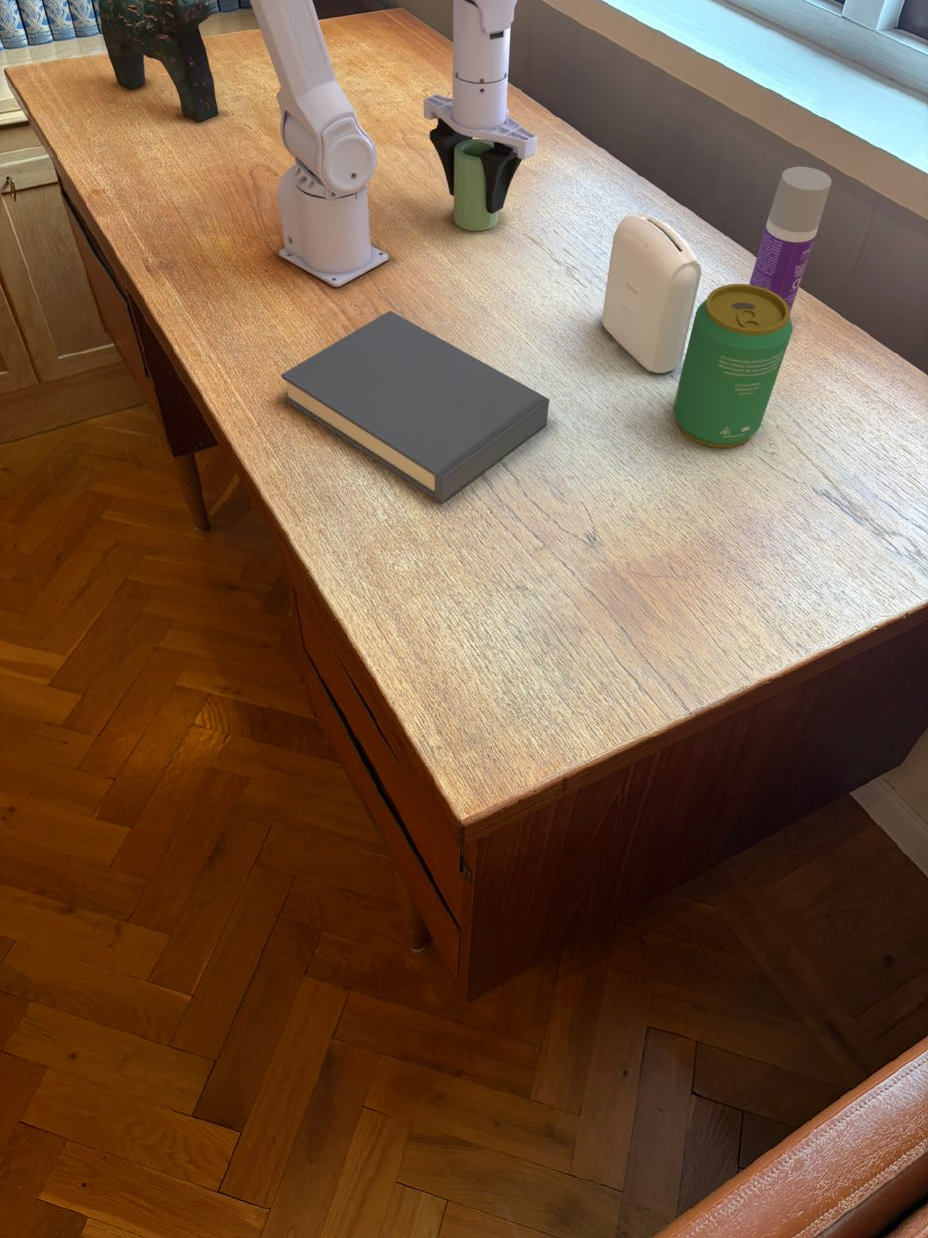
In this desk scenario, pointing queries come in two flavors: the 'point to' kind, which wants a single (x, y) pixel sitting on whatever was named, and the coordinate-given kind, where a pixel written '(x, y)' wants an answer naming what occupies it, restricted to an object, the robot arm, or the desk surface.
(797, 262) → the container
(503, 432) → the book
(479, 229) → the jar
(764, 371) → the beverage can
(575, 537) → the desk surface
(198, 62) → the ceramic cat
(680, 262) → the photo printer
